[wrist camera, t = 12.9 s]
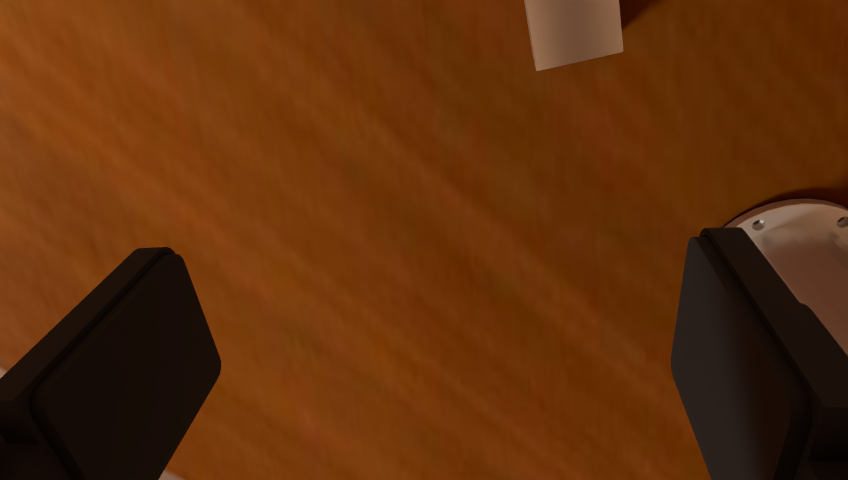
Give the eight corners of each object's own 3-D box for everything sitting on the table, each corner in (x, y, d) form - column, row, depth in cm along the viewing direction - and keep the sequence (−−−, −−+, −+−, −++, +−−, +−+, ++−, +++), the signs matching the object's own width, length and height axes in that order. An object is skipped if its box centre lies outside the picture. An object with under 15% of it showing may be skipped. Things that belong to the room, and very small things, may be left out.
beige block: (603, -47, 34) (615, -42, 31) (611, 38, 36) (623, 51, 33) (520, -25, 35) (522, -18, 32) (533, 56, 37) (536, 71, 34)
